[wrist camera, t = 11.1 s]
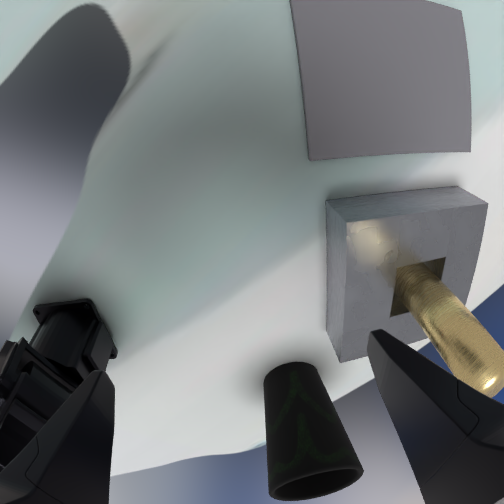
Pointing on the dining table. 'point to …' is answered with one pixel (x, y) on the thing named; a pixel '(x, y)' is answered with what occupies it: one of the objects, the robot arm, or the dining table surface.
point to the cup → (305, 436)
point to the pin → (451, 329)
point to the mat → (382, 77)
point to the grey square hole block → (395, 258)
